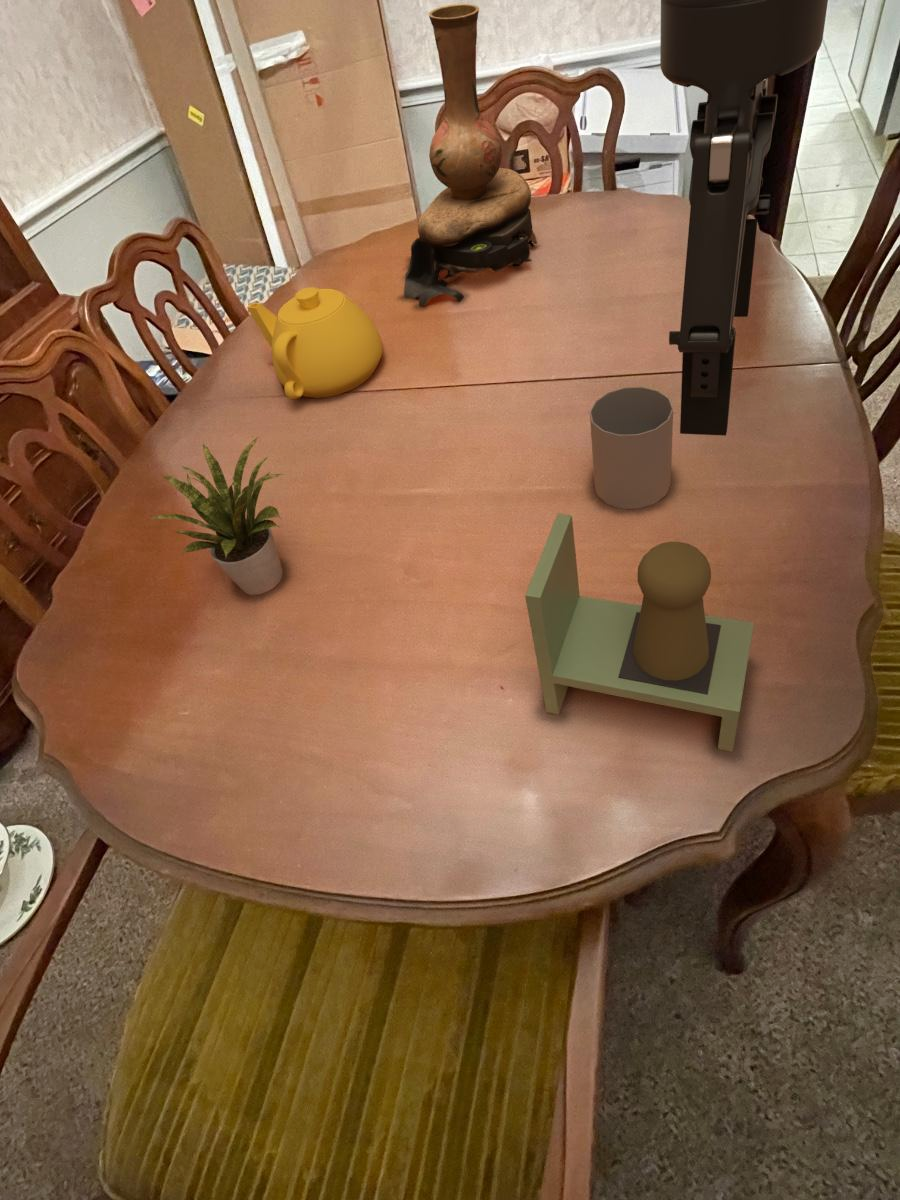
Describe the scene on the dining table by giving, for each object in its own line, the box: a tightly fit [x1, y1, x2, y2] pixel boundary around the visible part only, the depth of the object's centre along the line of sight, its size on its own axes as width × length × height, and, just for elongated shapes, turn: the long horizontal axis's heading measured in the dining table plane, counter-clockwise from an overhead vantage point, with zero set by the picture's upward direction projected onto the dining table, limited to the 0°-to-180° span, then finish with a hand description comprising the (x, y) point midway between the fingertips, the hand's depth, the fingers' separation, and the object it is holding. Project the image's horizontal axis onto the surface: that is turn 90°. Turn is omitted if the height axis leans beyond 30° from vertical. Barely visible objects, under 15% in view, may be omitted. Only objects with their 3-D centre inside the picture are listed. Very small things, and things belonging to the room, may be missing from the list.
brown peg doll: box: [633, 541, 712, 681], centre depth 58 cm, size 6×6×11 cm
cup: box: [589, 386, 674, 510], centre depth 82 cm, size 8×8×10 cm
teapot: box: [246, 286, 384, 400], centre depth 110 cm, size 20×19×13 cm
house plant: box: [147, 435, 285, 596], centre depth 81 cm, size 14×14×16 cm
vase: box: [403, 3, 538, 308], centre depth 116 cm, size 24×22×35 cm
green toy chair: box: [524, 513, 755, 753], centre depth 62 cm, size 16×9×16 cm, turn 69°
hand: (716, 368), depth 50 cm, fingers open, 13 cm apart
